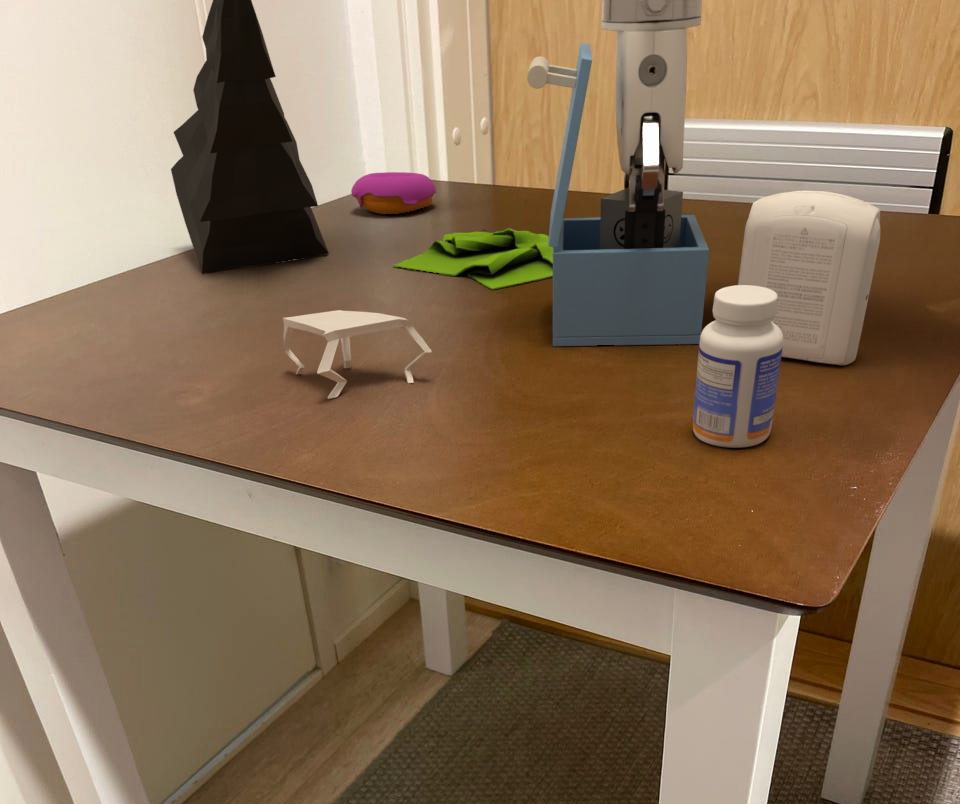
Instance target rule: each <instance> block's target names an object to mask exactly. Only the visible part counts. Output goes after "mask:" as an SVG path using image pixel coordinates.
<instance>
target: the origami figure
mask: <svg viewBox="0 0 960 804" xmlns="http://www.w3.org/2000/svg"><path fill="white" fill-rule="evenodd" d="M282 322H283V336H282V337H283V338H282V339H283V353H285V354H286V356H288V357H289V358H290V359H291V360H292V361H293V362H294V364H296V365H297V367H298V368H297V370H296V372H295V375H296V376H297V375H302V372H303V371H304V369H305V365H304V364H303V363H302V362H301V360H299V358H298V357H297V356H296V355H295V353H294V352H293V351H292V350H291V349H290V346H291V342H292V341H291V340H292V337H293V335H294V332H295V329H296V330H300V331H304V332H308V333H312V334H315V335H318V336H321V337H324V338H325V341H326V342H327V343H326V346H325V348H324V352H323V355H322V357H321V360H320V363H319V365H318V368H317V372H316V373H317V375H320V376H322V377H325V378H327V379H329V380H331V381H334V382H337V383H336V384H335V386H334V387H333V389H332V390H331V391H330V393H329V395H328V396H327V399H328V400H330V399H334V398H338V397H339V395H340V394H341V392H342V390H343V389H344V387H345V385H346V384H347V382H348V380H347V379H346V378H344V377H343V376H342V375H340V374H339V373H337V372H336V371H335V370H333V369H332V365H333V361H334V357H335V354H336V352H337V348H338V345H339V343H340V345H341V351H342V359H343V369H351V368H352V353H351V340H350V339H351V337H356V336H361V335H368V334H372V333H379V332H383V331H390V330H395V329H399V328H402V329H403V330H404V332H406V333H407V334H408V336H409V337H411V338H412V339H413V340H414V342H415V343H417V344H418V345H419V347H420V348H421V349H422V350H423V351H422V352H421V353H420V354H418V355H417V356H416V357H415V358H414V359H412V361H411V362H409V363H408V364H407V365H406V366H405V367H403V372H404V376H405V379H406V382H407V384H414V383H415V381H414V378H413V373H412V369H413V368H414V367H415V366H417V365H418V364H419V363H420V362H421V361H423V360H424V359H425V358H427V357H428V356H429V355H431V354H432V353H433V351H432V349H431V348H430V347H429V346H428V345H427V343H426V341H425V340H424V339H423V336H421V334H419V332H418V331H417V330H416V328H414V325H412V323H411V322H410V321H409V320H408V319H407V318H405V317H403V316H402V317H401V316H398V315H397V316H396V315H391V314H385V313H381V312H372V311H356V310H355V311H353V310H341V309H338V310H329V311H323V312H315V313H308V314H302V315H295V316H288V317H282Z"/></svg>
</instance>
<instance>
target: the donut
mask: <svg viewBox="0 0 960 804" xmlns="http://www.w3.org/2000/svg"><path fill="white" fill-rule="evenodd" d="M350 192H351V196H352V198H355V199H356V200H357V203H358V205H359V207H360V208H363V209H365V210H367V211H369V212H372V213H375V214H379V215H385V214H397V215H399V214H398V213H404V214H406V213H405V212H408V213H410V212H409V211H412V212H415V211H418V210H417V209H419V210H421V209H420V208H422V209H425V208H424V207H426V208H428V207H429V206H431V205H432V203H433V196H434V194H436V193H437V189H436V186H435V183H434V181H433V180H432V179H431V178H430V177H429V176H427V175H425V174H422V173H417V172H407V171H406V172H405V171H404V172H403V171H401V172H399V171H393V172H392V171H388V172H386V171H385V172H372V173H368V174H365V175H363V176H361V177H359V178H358V179H357V180H356V181H355V182H354V184H353V185H352V188H351V191H350ZM427 206H428V207H427ZM414 210H415V211H414Z"/></svg>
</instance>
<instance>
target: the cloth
mask: <svg viewBox="0 0 960 804" xmlns="http://www.w3.org/2000/svg"><path fill="white" fill-rule="evenodd" d="M548 241H549V235H547V234H545V233H544V234H543V233H534V232H531V231H529V230H515V229H512V228H510V227H508V228H506V229H503V230H498V231H494V232H487V231H472V232H452V233H447V234H444V235H443V237H442V240H435V241H434V242H433V243H432V244H431V245H430V246H429V248H428V249H427V250H426V251H425V252H423V253H421V254H418V255H416V256H413V257H410V258H409V259H406V260H403V261H400V262H398V263H395V264H393V265H392V267H393V268H398V267H401V268H400V269H404V268H408V269H407V270H410V269H414V270H413V271H416V270H420V271H419V272H423V271H426V272H425V273H429V272H433V273H432V274H436V273H439V274H438V275H443V276H452V277H456V276H459V274H462V273H466V272H468V273H467V277H469V278H470V277H471V278H470V279H473V280H475V281H476V282H477V283H478V284H480V283H481V284H480V285H482V286H484V287H486V288H488V289H490V290H492V291H494V290H500V289H504V288H508V287H509V288H510V287H514V286H519V285H522V284H523V285H524V284H527V283H528V284H529V283H532V281H533V282H537V281H542V280H546V279H549V278H553V247H549V246H548ZM518 284H519V285H518Z"/></svg>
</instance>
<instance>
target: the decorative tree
mask: <svg viewBox="0 0 960 804" xmlns="http://www.w3.org/2000/svg"><path fill="white" fill-rule="evenodd" d="M201 38H202V41H203V45H204V47H205V59H206V60H205V61H204V64H203V65H202V67H201V69H200V70H199V72H198V73H197V75H196V78H195V81H194V85H193V90H192V91H193V95H194V101H195V104H196V108H197V110H196V111H195V112H194V113H193V114H192V115H191V116H190V117H189V118H188V119H186V120H185V121H184V123H182V124H181V125H180V126H179V127H177V128H176V129H175V130H174V131H173V135H174V138H175V140H176V142H177V144H178V147H179V150H180V151H181V155H182V156H181V157H180V159H178V160H177V161H176V163H175V164H174V165H173V166H172V167H171V169H170V173H171V177H172V180H173V185H174V190H175V194H176V197H177V201H178V204H179V207H180V210H181V214H182V217H183V220H184V223H185V227H186V229H187V233H188V236H189V239H190V242H191V245H192V247H193V251H194V254H195V257H196V260H197V263H198V265H199V269H200V272H201V275H205V274H210V273H214V272H218V271H224V270H228V269H233V268H234V269H236V268H245V267H255V266H262V265H271V264H277V263H276V262H280V263H283V262H282V261H287V262H289V261H288V260H293V259H300V260H303V259H302V258H305V259H309V258H315V257H321V256H324V255H329V254H330V252H329V249H328V247H327V245H326V242H325V240H324V239H325V238H324V237H323V234H322V232H321V229H320V227H319V225H318V221H317V219H316V217H315V214H314V212H313V209H312V208H314V207H319V205H318V200H317V198H316V194H315V190H314V187H313V185H312V183H311V181H310V178H309V176H308V174H307V172H306V169H305V167H304V166H303V164H302V161H301V160H300V154H299V148H298V142H297V140H296V138H295V135H294V134H293V131H292V129H291V127H290V125H289V123H288V121H287V119H286V117H285V112H284V109H283V107H282V104H281V102H280V99H279V97H278V94H277V92H276V89H275V86H274V84H273V81H272V78H276V77H277V76H276V73H275V70H274V67H273V64H272V60H271V57H270V54H269V50H268V46H267V44H266V41H265V37H264V34H263V31H262V27H261V24H260V22H259V19H258V16H257V13H256V10H255V7H254V4H253V1H252V0H212V2H211V5H210V8H209V11H208V15H207V18H206V21H205V25H204V29H203V33H202V36H201ZM204 273H205V274H204Z"/></svg>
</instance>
